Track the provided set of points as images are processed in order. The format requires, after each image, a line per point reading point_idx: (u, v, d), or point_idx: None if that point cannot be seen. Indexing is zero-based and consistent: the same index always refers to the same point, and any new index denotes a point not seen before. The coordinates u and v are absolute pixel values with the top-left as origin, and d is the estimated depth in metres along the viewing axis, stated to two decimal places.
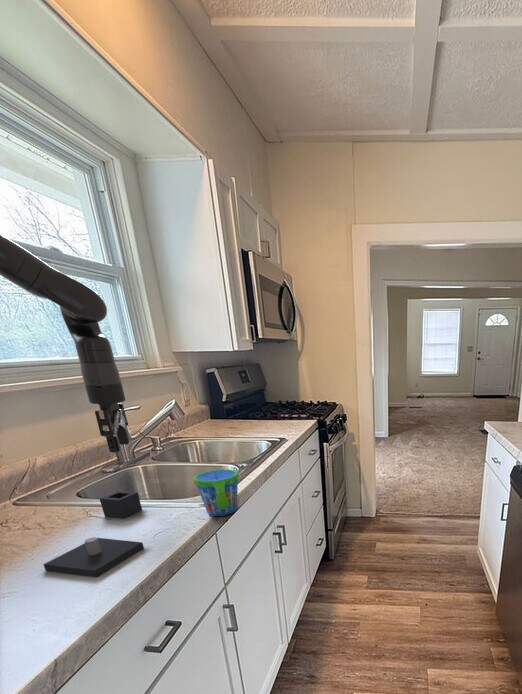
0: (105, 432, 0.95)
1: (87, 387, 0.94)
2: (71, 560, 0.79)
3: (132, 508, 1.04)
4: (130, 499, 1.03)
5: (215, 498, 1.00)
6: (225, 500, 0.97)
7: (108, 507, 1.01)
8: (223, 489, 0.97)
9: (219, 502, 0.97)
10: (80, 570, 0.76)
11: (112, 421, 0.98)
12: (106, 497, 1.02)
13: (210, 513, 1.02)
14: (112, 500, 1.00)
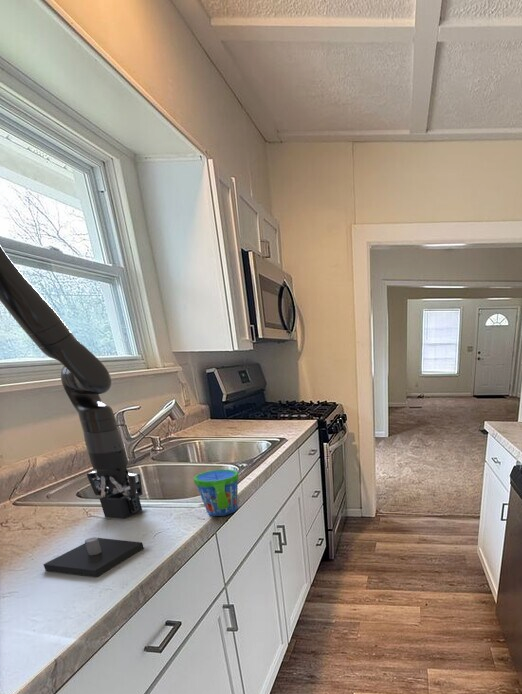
0: (137, 493, 1.01)
1: (106, 455, 0.96)
2: (71, 560, 0.79)
3: None
4: None
5: (215, 498, 1.00)
6: (225, 500, 0.97)
7: (108, 507, 1.01)
8: (223, 489, 0.97)
9: (219, 502, 0.97)
10: (80, 570, 0.76)
11: (126, 482, 1.02)
12: (106, 497, 1.02)
13: (210, 513, 1.02)
14: (112, 500, 1.00)
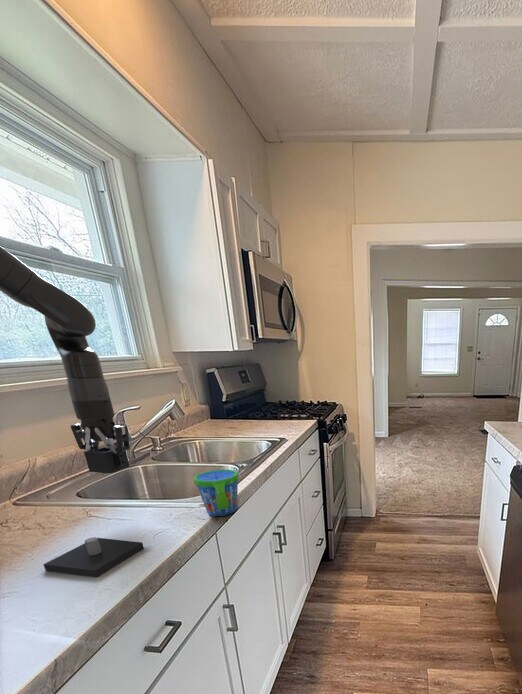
0: (124, 447, 0.97)
1: (91, 403, 0.91)
2: (71, 560, 0.79)
3: None
4: None
5: (215, 498, 1.00)
6: (225, 500, 0.97)
7: (92, 461, 0.96)
8: (223, 489, 0.97)
9: (219, 502, 0.97)
10: (80, 570, 0.76)
11: (113, 435, 0.97)
12: (91, 451, 0.97)
13: (210, 513, 1.02)
14: (97, 453, 0.95)
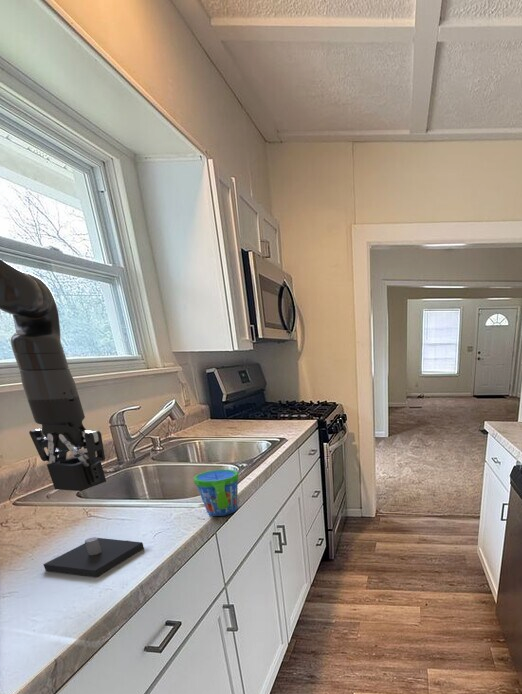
0: (97, 458, 0.76)
1: (52, 402, 0.71)
2: (71, 560, 0.79)
3: None
4: None
5: (215, 498, 1.00)
6: (225, 500, 0.97)
7: (58, 476, 0.76)
8: (223, 489, 0.97)
9: (219, 502, 0.97)
10: (80, 570, 0.76)
11: (83, 443, 0.77)
12: (56, 463, 0.76)
13: (210, 513, 1.02)
14: (63, 466, 0.75)
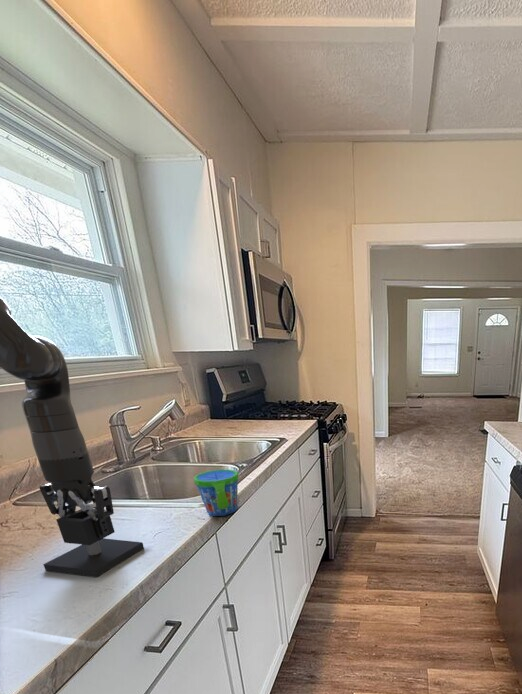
0: (106, 512, 0.77)
1: (62, 462, 0.71)
2: (71, 560, 0.79)
3: None
4: None
5: (215, 498, 1.00)
6: (225, 500, 0.97)
7: (67, 530, 0.77)
8: (223, 489, 0.97)
9: (219, 502, 0.97)
10: (80, 570, 0.76)
11: (92, 498, 0.77)
12: (65, 517, 0.77)
13: (210, 513, 1.02)
14: (73, 521, 0.76)
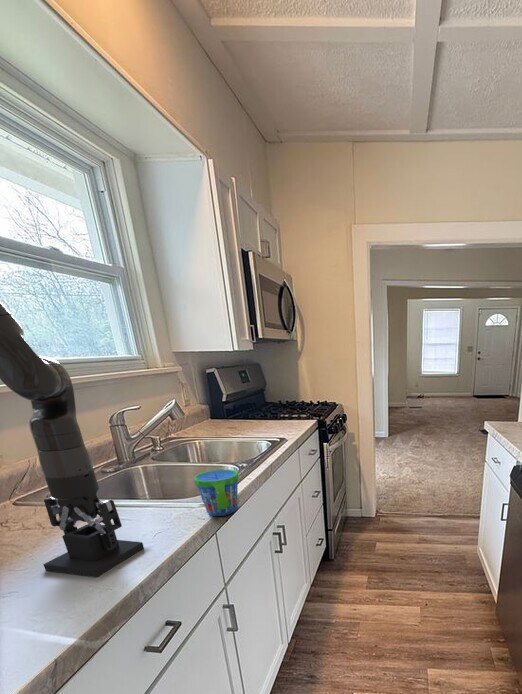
0: (114, 526, 0.78)
1: (68, 480, 0.73)
2: (71, 560, 0.79)
3: None
4: None
5: (215, 498, 1.00)
6: (225, 500, 0.97)
7: (73, 547, 0.78)
8: (223, 489, 0.97)
9: (219, 502, 0.97)
10: (80, 570, 0.76)
11: (97, 514, 0.79)
12: (71, 534, 0.79)
13: (210, 513, 1.02)
14: (78, 538, 0.77)
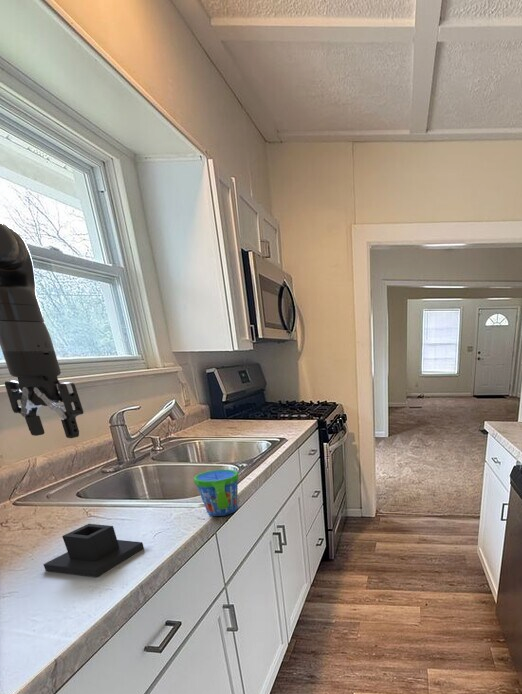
0: (75, 410, 0.77)
1: (26, 354, 0.71)
2: (71, 560, 0.79)
3: (105, 547, 0.81)
4: (103, 536, 0.80)
5: (215, 498, 1.00)
6: (225, 500, 0.97)
7: (73, 547, 0.78)
8: (223, 489, 0.97)
9: (219, 502, 0.97)
10: (80, 570, 0.76)
11: (58, 399, 0.77)
12: (71, 534, 0.79)
13: (210, 513, 1.02)
14: (78, 538, 0.77)
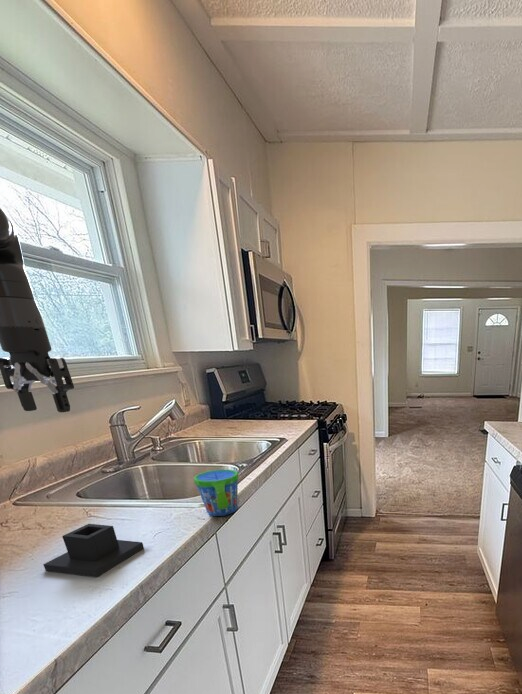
0: (66, 384, 0.80)
1: (17, 329, 0.74)
2: (71, 560, 0.79)
3: (105, 547, 0.81)
4: (103, 536, 0.80)
5: (215, 498, 1.00)
6: (225, 500, 0.97)
7: (73, 547, 0.78)
8: (223, 489, 0.97)
9: (219, 502, 0.97)
10: (80, 570, 0.76)
11: (50, 374, 0.80)
12: (71, 534, 0.79)
13: (210, 513, 1.02)
14: (78, 538, 0.77)
